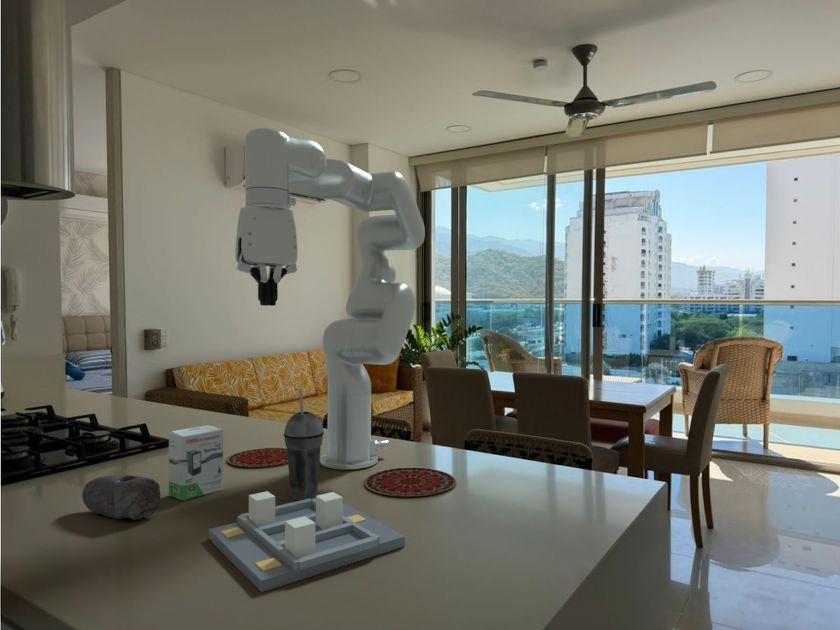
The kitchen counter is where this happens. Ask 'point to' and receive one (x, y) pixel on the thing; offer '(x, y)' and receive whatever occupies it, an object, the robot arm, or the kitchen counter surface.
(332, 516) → the tab
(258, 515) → the tab
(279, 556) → the switch board
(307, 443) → the beverage cup
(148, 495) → the perforated stone tool
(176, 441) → the ink box
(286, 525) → the tab
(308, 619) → the kitchen counter surface
